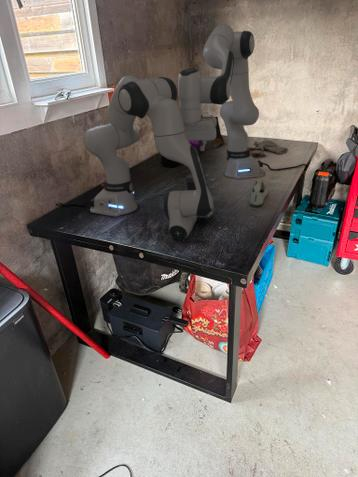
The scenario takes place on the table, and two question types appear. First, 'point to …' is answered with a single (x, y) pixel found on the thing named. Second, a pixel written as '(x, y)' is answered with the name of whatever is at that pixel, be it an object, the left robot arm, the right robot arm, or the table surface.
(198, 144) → the decorative orb
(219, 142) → the boot
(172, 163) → the handbag
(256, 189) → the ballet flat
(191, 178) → the lid
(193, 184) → the black cylinder
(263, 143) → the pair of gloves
